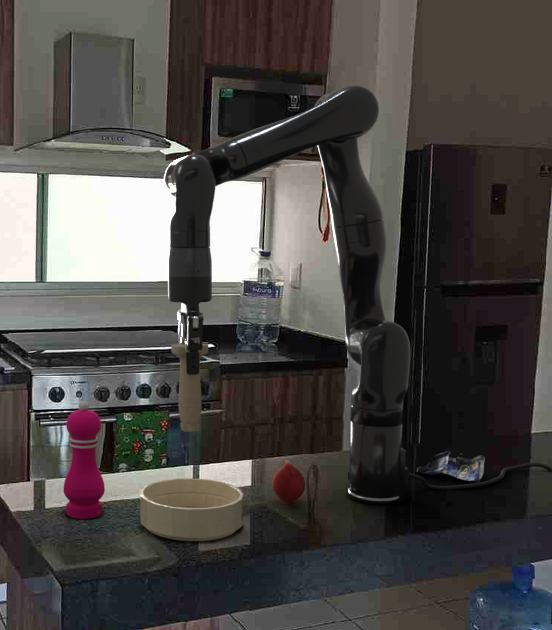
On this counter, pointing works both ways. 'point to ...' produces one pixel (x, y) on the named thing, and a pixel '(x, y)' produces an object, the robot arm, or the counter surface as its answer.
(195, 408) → the handle
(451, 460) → the snack package
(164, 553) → the counter surface
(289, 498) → the onion
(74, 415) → the pepper mill
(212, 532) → the bowl
